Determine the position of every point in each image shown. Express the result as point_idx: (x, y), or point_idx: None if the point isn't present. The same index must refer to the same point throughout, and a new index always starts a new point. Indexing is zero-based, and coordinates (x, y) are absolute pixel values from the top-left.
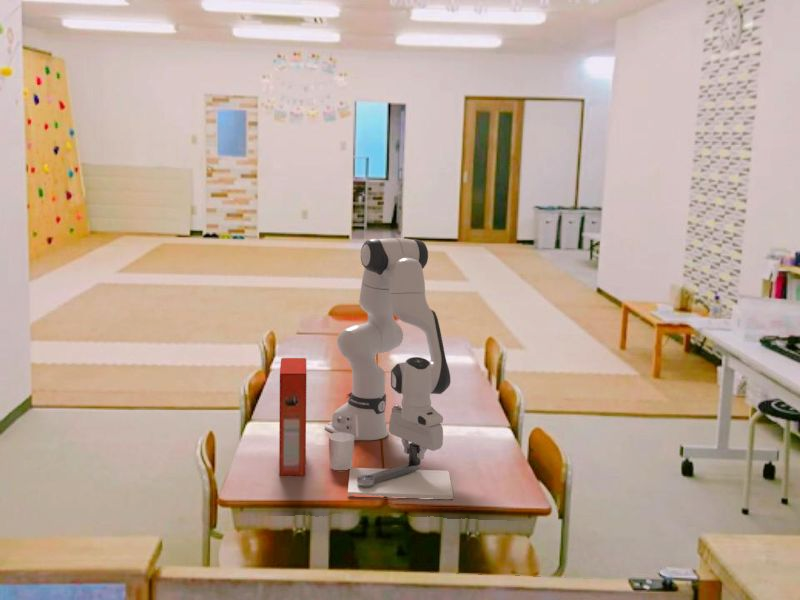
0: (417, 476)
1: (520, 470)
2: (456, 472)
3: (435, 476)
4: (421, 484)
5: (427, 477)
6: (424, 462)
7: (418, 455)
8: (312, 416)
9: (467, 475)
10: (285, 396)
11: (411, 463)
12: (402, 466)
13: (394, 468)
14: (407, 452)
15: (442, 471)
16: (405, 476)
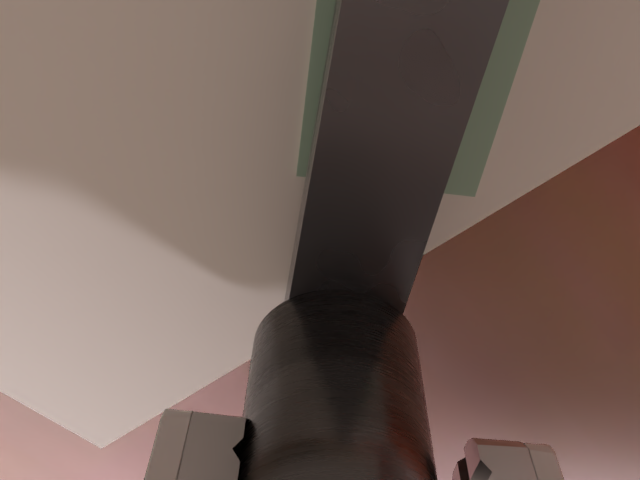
0: (177, 182)
1: None
2: (125, 471)
3: (53, 306)
4: None
5: (79, 236)
6: (439, 468)
7: (197, 460)
8: None
9: (31, 476)
10: None
11: (326, 309)
12: (399, 175)
13: (463, 3)
14: (478, 459)
15: (119, 415)
16: (290, 74)
